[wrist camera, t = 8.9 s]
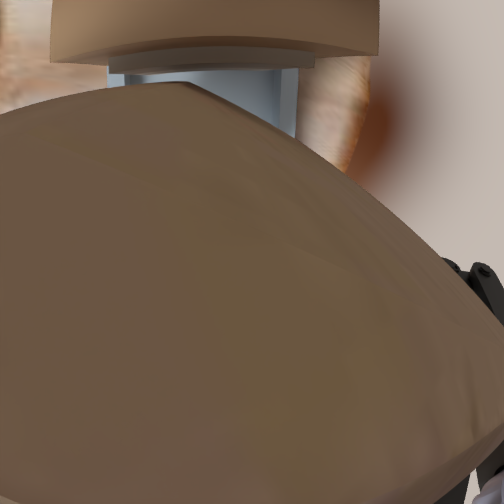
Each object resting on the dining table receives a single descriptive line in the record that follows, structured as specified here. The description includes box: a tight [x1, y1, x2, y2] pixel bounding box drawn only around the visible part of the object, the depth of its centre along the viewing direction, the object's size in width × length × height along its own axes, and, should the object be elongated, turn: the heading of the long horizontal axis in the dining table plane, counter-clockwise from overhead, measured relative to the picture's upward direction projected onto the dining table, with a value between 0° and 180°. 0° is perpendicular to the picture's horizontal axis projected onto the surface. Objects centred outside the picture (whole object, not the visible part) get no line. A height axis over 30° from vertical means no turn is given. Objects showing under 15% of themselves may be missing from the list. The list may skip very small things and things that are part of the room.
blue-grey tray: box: [107, 66, 299, 138], centre depth 24 cm, size 24×16×4 cm, turn 179°
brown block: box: [50, 0, 379, 76], centre depth 12 cm, size 9×9×20 cm
